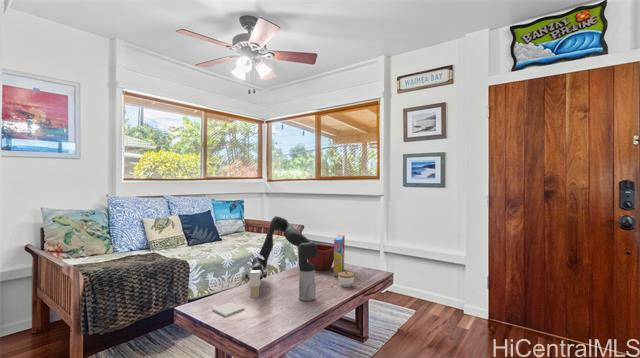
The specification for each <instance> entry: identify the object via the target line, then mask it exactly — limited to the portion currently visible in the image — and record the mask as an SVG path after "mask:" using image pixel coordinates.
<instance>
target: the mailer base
mask: <svg viewBox="0 0 640 358" xmlns="http://www.w3.org/2000/svg"><path fill="white" fill-rule="evenodd" d="M259 295H260V286H250V297H251V298H252V297H259Z"/></svg>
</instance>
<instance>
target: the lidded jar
mask: <svg viewBox="0 0 640 358" xmlns="http://www.w3.org/2000/svg"><path fill="white" fill-rule="evenodd" d="M337 277H338V282H339V284H340V285H341V286H342V287H345V288H348V287H351V285H353V283H354V279H355V274H354V272H352V271H347V270H346V271H345V270H344V271H343V272H340V273H338V276H337Z"/></svg>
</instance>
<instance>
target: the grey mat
mask: <svg viewBox="0 0 640 358" xmlns="http://www.w3.org/2000/svg"><path fill="white" fill-rule="evenodd" d="M244 310H245V307H244V306H242V305H239V304H237V303H235V302H233V301H230V302H228V303H224V304H221V305H219V306H215V307H214V308H212V309H211V311H212V312H215V313H217V314H218V315H221V316H223V317H225V318H226V317H227V318H228V317H229V316H232V315H234V314H236V313H239V312H242V311H244Z"/></svg>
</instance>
